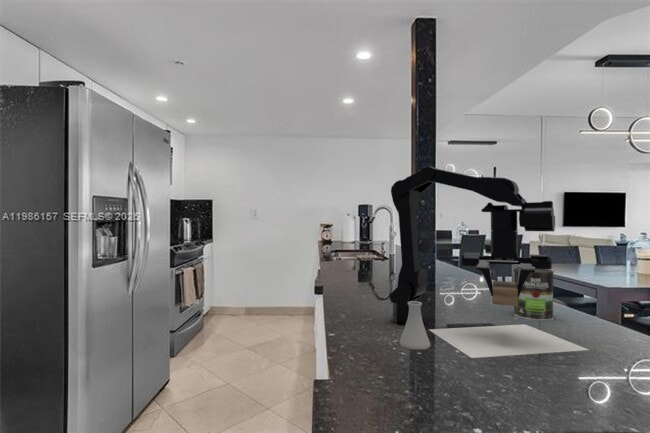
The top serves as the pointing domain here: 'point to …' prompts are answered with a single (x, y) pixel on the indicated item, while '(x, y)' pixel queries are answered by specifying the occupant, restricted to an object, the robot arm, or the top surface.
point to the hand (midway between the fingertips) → (504, 296)
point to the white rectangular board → (504, 341)
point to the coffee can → (535, 295)
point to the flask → (414, 329)
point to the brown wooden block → (505, 293)
